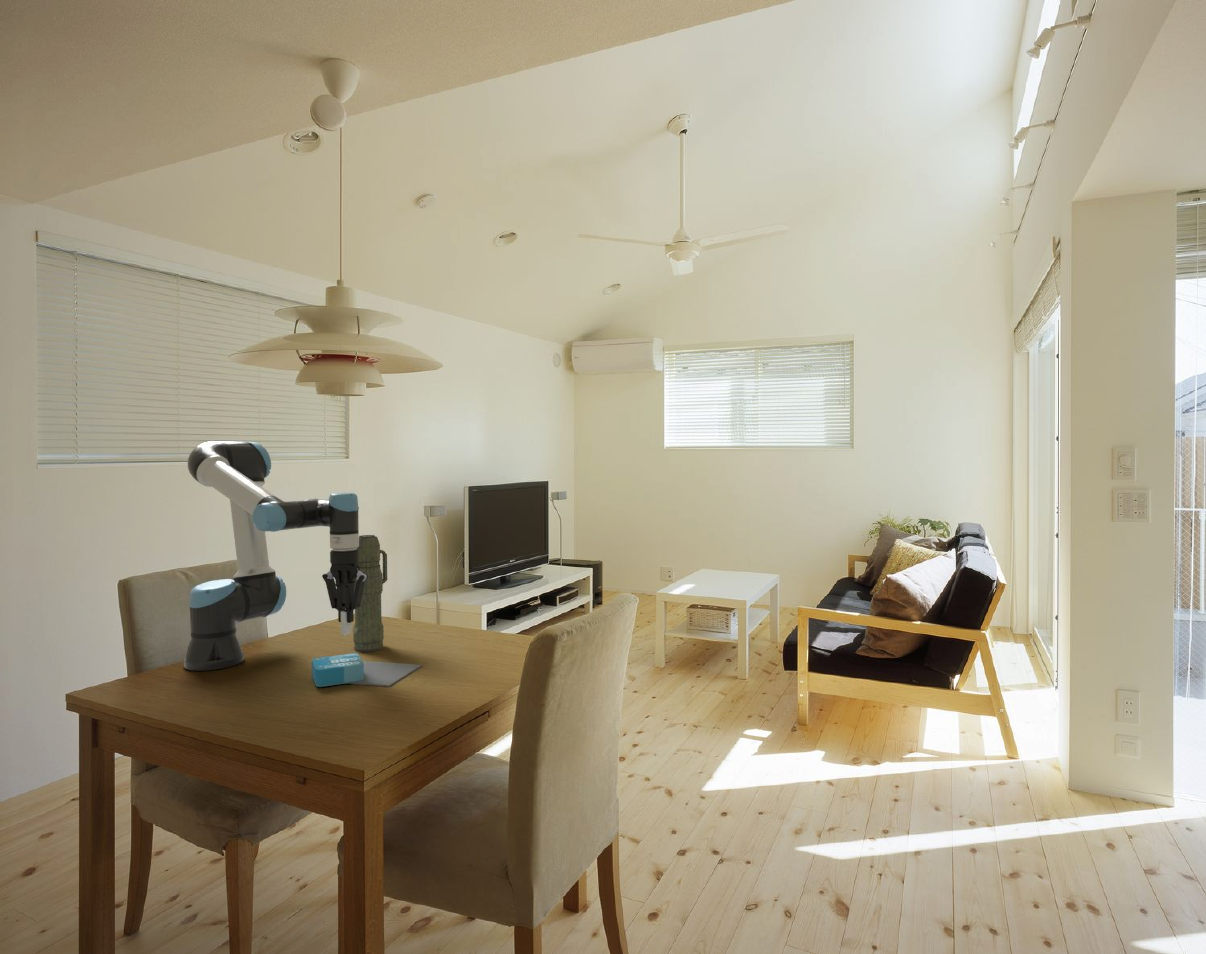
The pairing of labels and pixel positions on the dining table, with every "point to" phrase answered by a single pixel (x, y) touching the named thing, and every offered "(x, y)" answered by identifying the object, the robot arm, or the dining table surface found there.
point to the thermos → (370, 596)
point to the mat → (385, 673)
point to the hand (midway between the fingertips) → (346, 633)
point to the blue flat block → (337, 669)
